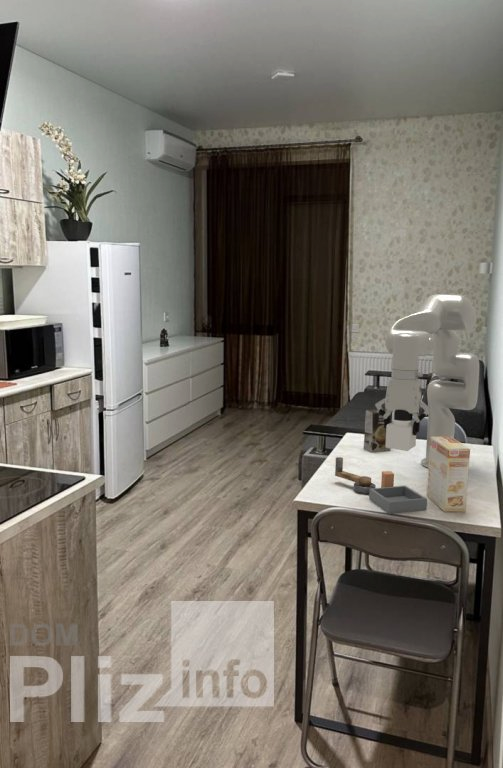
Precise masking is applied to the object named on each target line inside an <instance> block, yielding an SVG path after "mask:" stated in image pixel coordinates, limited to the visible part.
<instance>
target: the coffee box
mask: <svg viewBox="0 0 503 768" xmlns="http://www.w3.org/2000/svg"><path fill="white" fill-rule="evenodd" d="M383 409H384V410H385V411H386V412H387V410H386V409H385V408H383ZM390 418H391V422H393V421H392V413H391V414H390ZM364 420H365V421H364V435H363V436H364V437H363V439H364V440H363V450H365V451H368V452H370V453H380V452H382V453H383V452H389V451H391V450H392V448H386V447H385V445H386V432H385V431H386V429H384V418H383V416H382V415H381V414H380V413H379V411H378V409H366V410H365V419H364ZM391 422H390V423H391Z"/></svg>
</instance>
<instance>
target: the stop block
mask: <svg viewBox="0 0 503 768" xmlns="http://www.w3.org/2000/svg"><path fill="white" fill-rule="evenodd" d="M394 483H395V473H394V472H393V471H392V470H386V471H385V470H384V471H381V484H380V485H381V486H380V488H383V487H394V486H395V485H394Z"/></svg>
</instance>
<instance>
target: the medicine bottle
mask: <svg viewBox="0 0 503 768" xmlns="http://www.w3.org/2000/svg"><path fill="white" fill-rule="evenodd" d="M413 419H414V417H413V415H412V414H410V413H409V412H408V411H405V410H394V411H393V412H392V422H391V423H389V424H387V426H386V445H385V447H386V448H391V450H399V451H405V452H409V451H411V449H413V448H415V447H416V445H417V443H416V442H417V434H416V435H413V425H414V422H413Z"/></svg>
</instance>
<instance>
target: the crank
mask: <svg viewBox="0 0 503 768" xmlns="http://www.w3.org/2000/svg"><path fill="white" fill-rule="evenodd" d="M343 466H344V457H340V456H336V457H335V468H334V469H335V473H334V475H335V477H337V478H342V479H344V480H347V481H351V482H354V483H356V482H357V483H359V485H361V486H370V485H371V483H372V477H371V476H364V475H363V476H362V475H357V474H354V473H351V472H348V471H344V470H343Z"/></svg>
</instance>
